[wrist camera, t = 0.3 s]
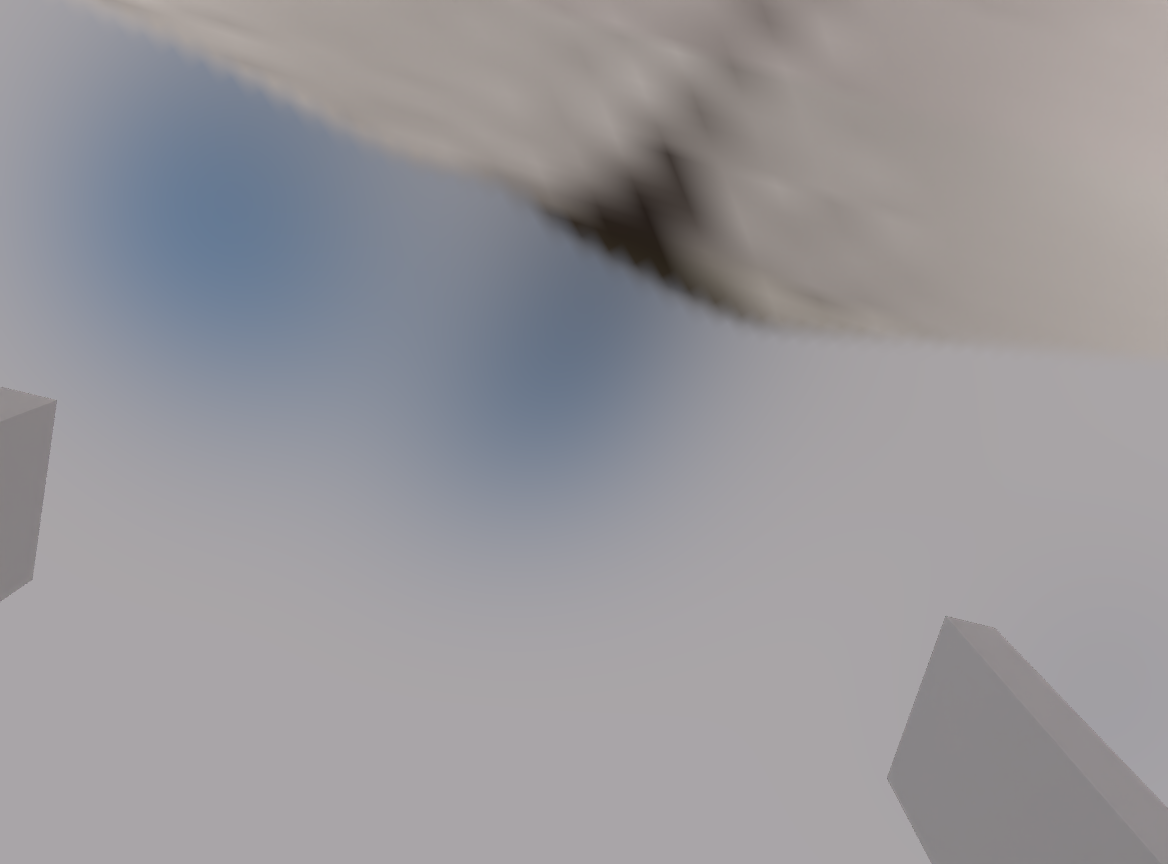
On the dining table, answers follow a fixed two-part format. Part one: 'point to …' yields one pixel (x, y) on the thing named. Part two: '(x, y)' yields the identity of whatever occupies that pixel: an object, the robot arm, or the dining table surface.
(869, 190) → the dining table surface
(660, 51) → the dining table surface
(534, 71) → the dining table surface
